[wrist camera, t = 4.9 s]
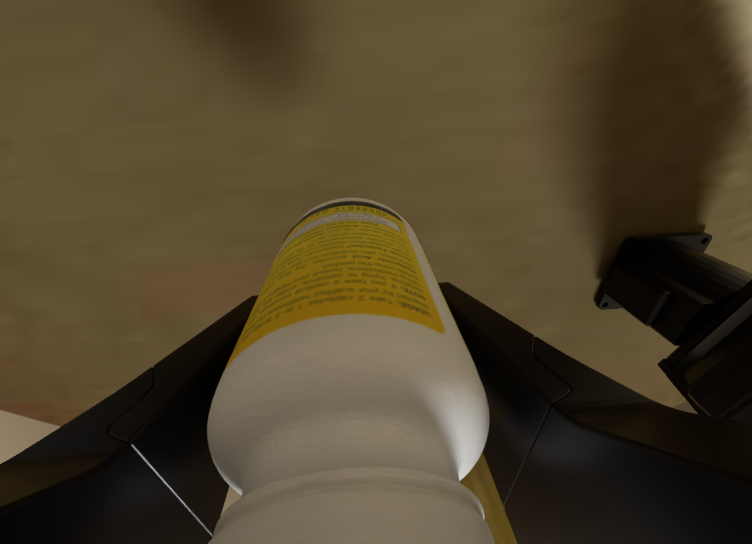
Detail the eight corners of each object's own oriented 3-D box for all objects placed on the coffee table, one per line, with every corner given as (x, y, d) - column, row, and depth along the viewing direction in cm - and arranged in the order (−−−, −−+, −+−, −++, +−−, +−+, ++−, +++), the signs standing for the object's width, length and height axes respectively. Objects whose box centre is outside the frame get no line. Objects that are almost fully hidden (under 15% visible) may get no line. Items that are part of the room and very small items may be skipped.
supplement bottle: (253, 252, 11) (-58, 739, 3) (364, 161, 10) (452, 590, 1) (344, 332, 13) (332, 716, 5) (443, 269, 12) (652, 657, 4)
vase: (485, 466, 38) (548, 637, 26) (444, 462, 37) (489, 642, 25) (508, 441, 35) (591, 621, 23) (464, 436, 34) (527, 625, 22)
